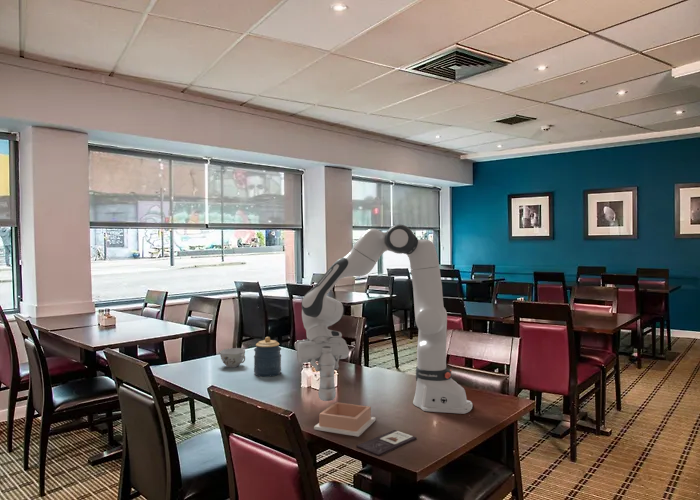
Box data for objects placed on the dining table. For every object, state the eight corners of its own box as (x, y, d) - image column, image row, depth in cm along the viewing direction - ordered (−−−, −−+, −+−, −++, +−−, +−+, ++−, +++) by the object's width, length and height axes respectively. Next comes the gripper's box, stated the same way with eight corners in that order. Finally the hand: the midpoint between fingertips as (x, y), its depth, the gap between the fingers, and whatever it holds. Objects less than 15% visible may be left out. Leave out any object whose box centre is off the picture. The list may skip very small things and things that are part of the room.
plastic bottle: (326, 396, 188) (325, 344, 188) (339, 399, 184) (339, 346, 184) (314, 400, 183) (314, 347, 183) (328, 404, 179) (327, 349, 179)
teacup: (214, 367, 247) (214, 351, 247) (233, 362, 258) (233, 346, 258) (235, 371, 239) (235, 354, 239) (253, 366, 249) (253, 350, 249)
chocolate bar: (356, 445, 149) (394, 429, 162) (356, 448, 149) (394, 432, 162) (378, 454, 143) (416, 437, 155) (378, 457, 143) (416, 440, 155)
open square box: (375, 420, 172) (375, 406, 172) (358, 436, 157) (358, 421, 157) (334, 414, 178) (334, 400, 178) (314, 429, 164) (314, 414, 164)
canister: (286, 373, 234) (286, 337, 234) (263, 378, 226) (263, 340, 225) (271, 368, 244) (271, 333, 244) (248, 373, 235) (248, 336, 235)
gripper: (294, 336, 186) (302, 367, 177) (344, 331, 194) (354, 361, 185) (291, 345, 190) (299, 376, 181) (340, 341, 198) (350, 370, 189)
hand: (327, 369), depth 183 cm, fingers closed on plastic bottle, 6 cm apart
